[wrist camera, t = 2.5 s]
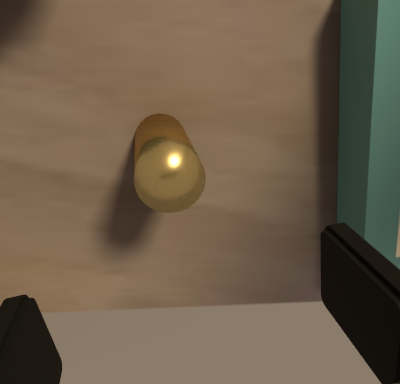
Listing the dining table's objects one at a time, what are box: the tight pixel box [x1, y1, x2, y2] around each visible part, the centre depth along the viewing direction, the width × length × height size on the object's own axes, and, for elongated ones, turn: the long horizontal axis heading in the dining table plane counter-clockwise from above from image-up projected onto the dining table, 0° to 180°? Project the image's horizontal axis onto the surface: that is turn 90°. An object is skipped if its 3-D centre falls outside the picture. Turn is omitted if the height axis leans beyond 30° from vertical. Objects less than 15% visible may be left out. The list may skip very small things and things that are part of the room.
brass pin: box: [134, 114, 205, 213], centre depth 24 cm, size 4×4×9 cm
